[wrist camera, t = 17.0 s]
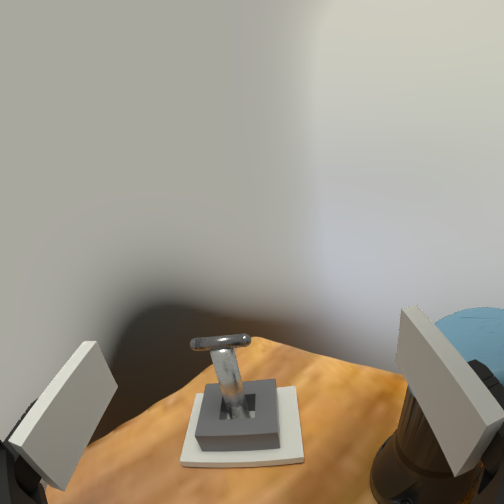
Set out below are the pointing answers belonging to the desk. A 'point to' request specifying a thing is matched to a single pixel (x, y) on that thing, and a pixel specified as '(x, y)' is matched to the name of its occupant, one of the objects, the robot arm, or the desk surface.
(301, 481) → the desk surface
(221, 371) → the chuck key
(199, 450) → the chuck block
